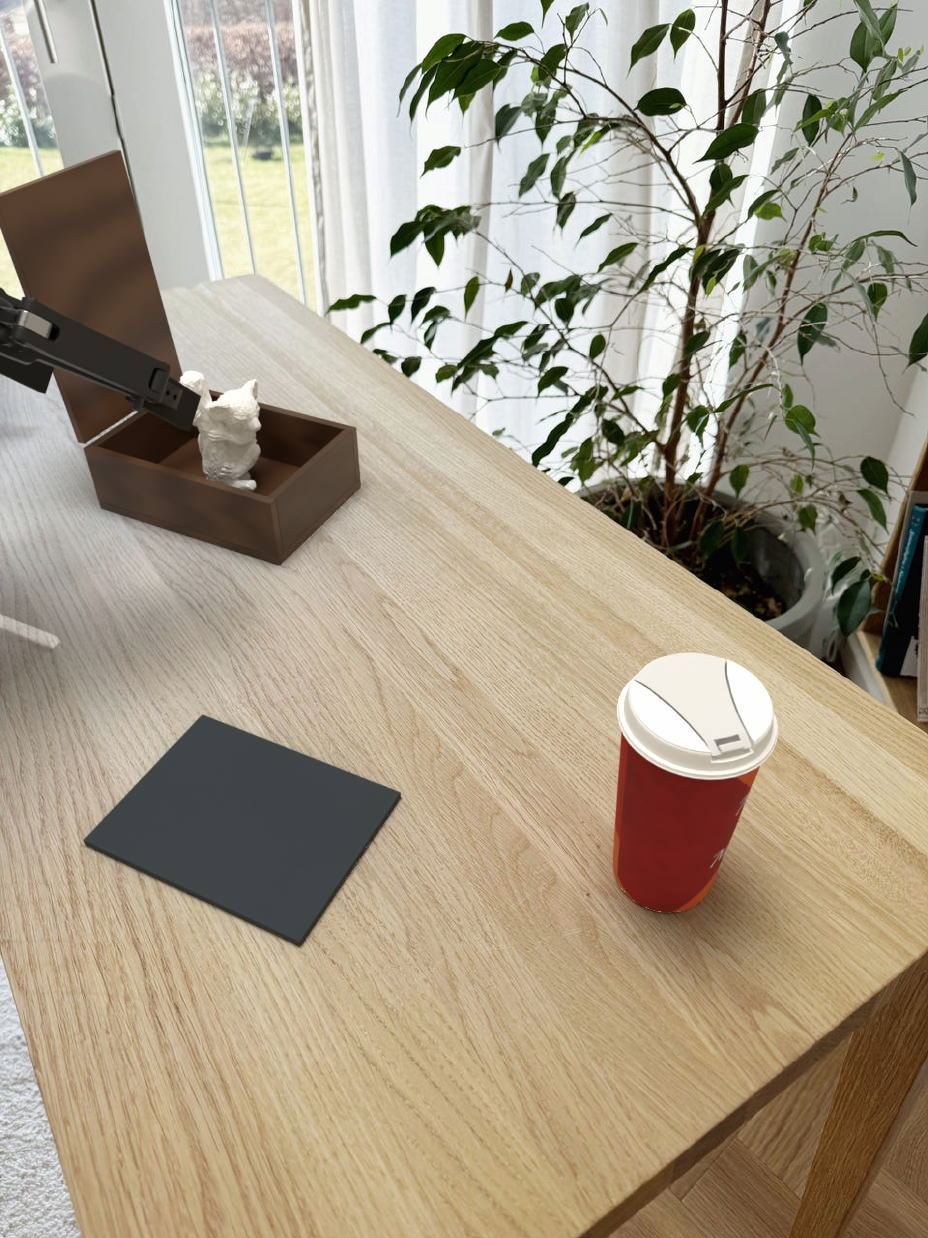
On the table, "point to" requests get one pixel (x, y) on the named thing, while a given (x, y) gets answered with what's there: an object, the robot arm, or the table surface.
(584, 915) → the table surface
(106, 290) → the chest lid
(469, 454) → the table surface
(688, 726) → the coffee cup
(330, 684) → the table surface
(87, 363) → the robot arm
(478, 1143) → the table surface
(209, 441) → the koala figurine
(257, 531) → the chest
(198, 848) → the mat
